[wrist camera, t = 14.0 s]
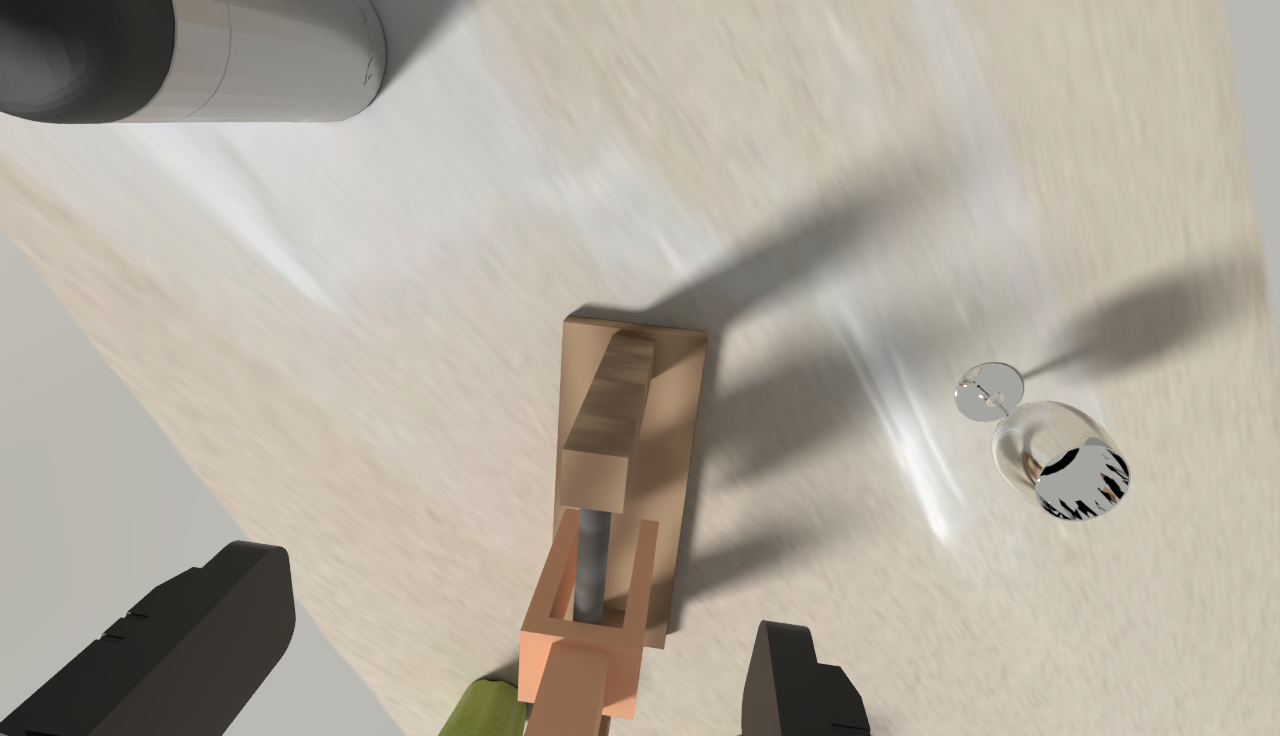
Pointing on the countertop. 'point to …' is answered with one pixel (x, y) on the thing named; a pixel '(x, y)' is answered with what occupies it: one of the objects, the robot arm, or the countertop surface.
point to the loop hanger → (581, 644)
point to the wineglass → (1045, 447)
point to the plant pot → (487, 711)
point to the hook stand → (625, 459)
